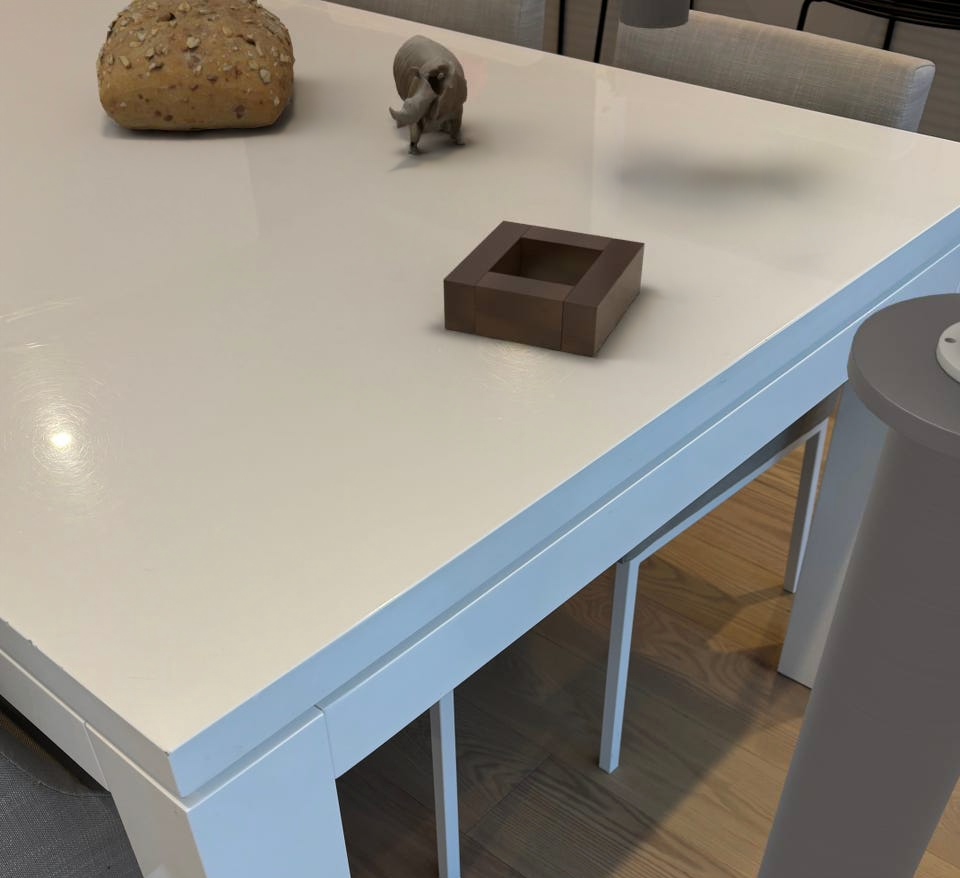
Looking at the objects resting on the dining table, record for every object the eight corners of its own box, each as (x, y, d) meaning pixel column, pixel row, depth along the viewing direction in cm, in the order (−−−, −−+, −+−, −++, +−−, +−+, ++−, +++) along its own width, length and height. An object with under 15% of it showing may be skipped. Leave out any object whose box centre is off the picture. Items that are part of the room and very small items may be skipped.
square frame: (640, 290, 89) (645, 242, 86) (593, 357, 80) (597, 306, 78) (502, 266, 92) (503, 220, 89) (444, 328, 84) (443, 279, 81)
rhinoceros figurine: (468, 84, 121) (457, -21, 107) (478, 193, 119) (467, 100, 104) (400, 92, 122) (379, -12, 107) (407, 201, 119) (387, 109, 104)
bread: (294, 138, 116) (280, 13, 108) (94, 143, 115) (64, 17, 107) (306, 72, 134) (295, -40, 126) (133, 76, 133) (110, -37, 125)
